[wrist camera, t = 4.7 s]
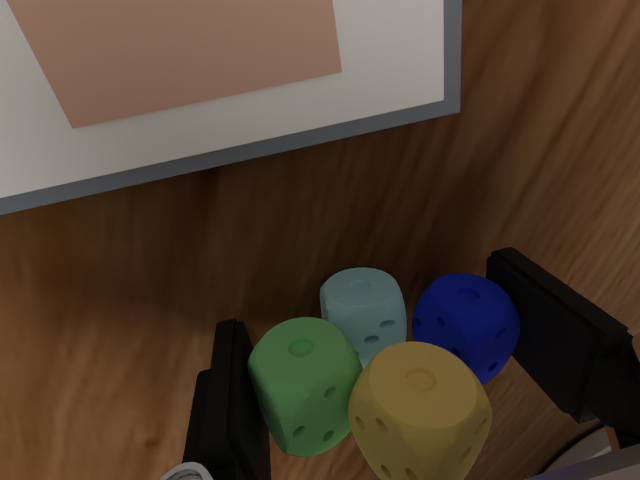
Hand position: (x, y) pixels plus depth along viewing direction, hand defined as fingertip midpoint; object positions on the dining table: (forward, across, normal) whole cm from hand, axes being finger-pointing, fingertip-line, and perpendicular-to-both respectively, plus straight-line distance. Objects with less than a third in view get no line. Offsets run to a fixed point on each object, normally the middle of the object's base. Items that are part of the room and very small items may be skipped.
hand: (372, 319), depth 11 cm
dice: (+1, 0, 0) cm, 1 cm away
